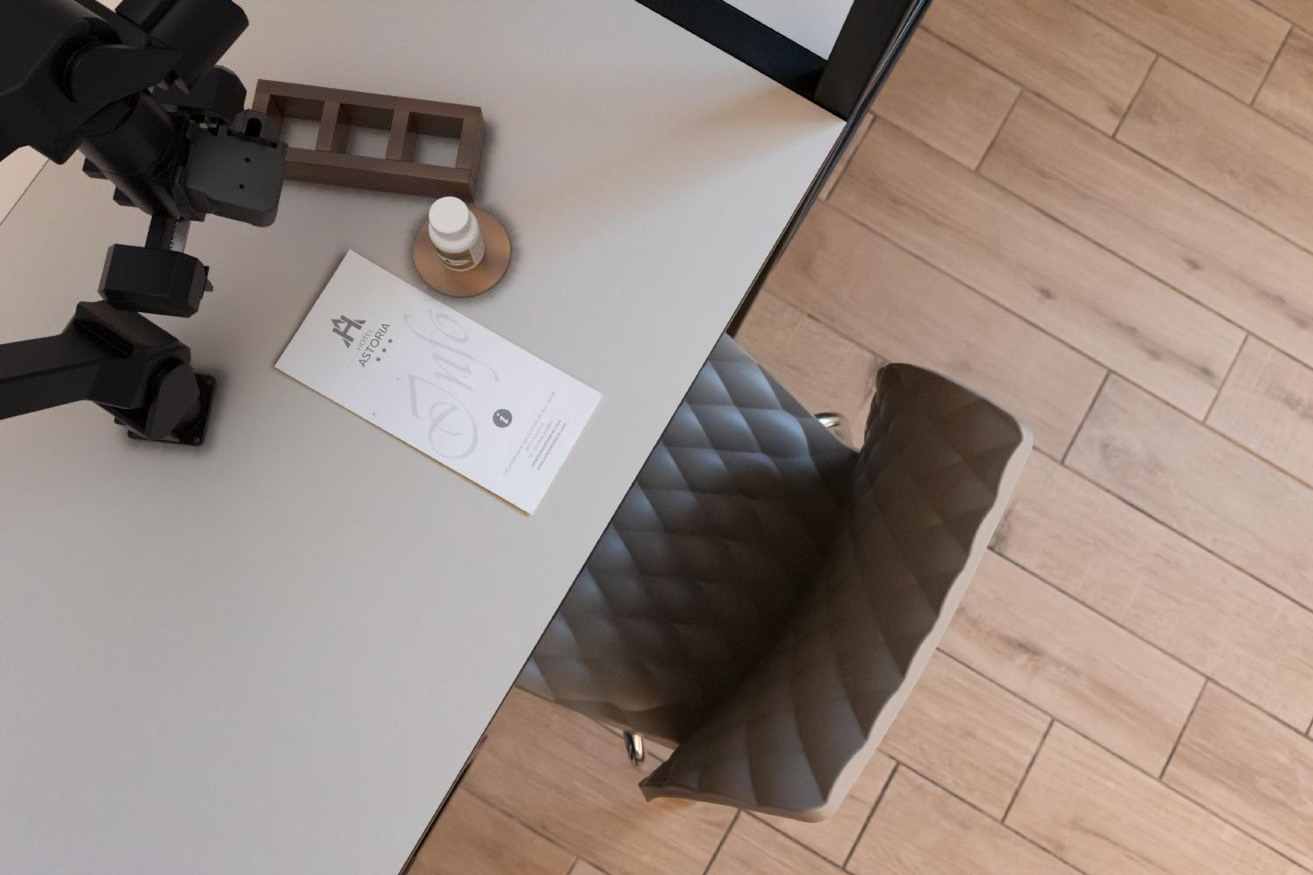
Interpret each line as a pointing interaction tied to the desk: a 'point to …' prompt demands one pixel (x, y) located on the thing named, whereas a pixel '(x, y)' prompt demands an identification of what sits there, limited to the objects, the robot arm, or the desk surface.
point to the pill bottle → (455, 234)
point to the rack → (379, 113)
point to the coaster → (470, 280)
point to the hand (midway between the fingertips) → (219, 235)
